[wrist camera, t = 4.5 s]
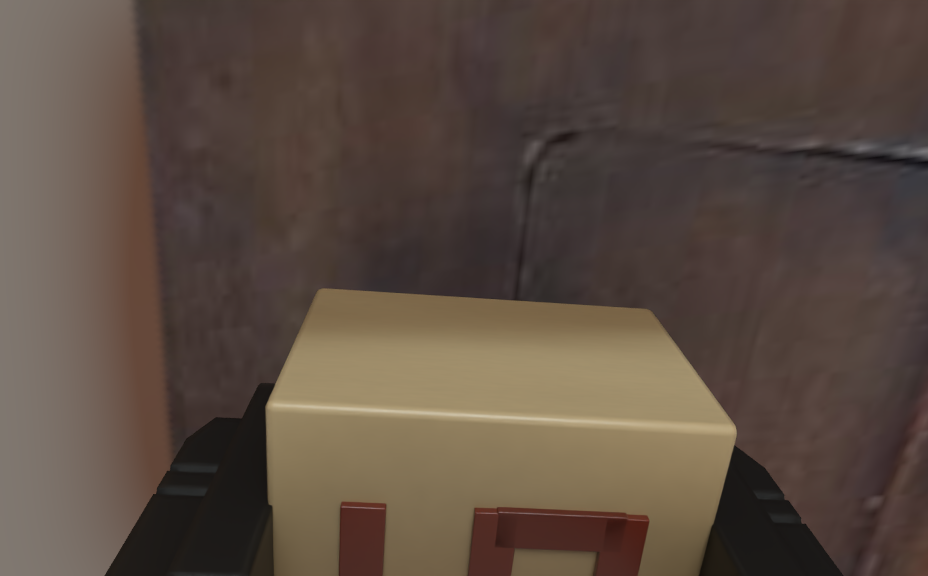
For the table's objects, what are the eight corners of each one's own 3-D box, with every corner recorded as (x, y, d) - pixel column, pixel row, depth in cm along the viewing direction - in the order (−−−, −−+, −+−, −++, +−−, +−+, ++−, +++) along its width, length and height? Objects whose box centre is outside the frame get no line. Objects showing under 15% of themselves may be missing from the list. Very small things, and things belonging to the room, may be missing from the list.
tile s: (317, 285, 9) (260, 407, 6) (652, 307, 9) (747, 433, 6) (315, 555, 11) (269, 753, 8) (601, 567, 11) (658, 762, 8)
